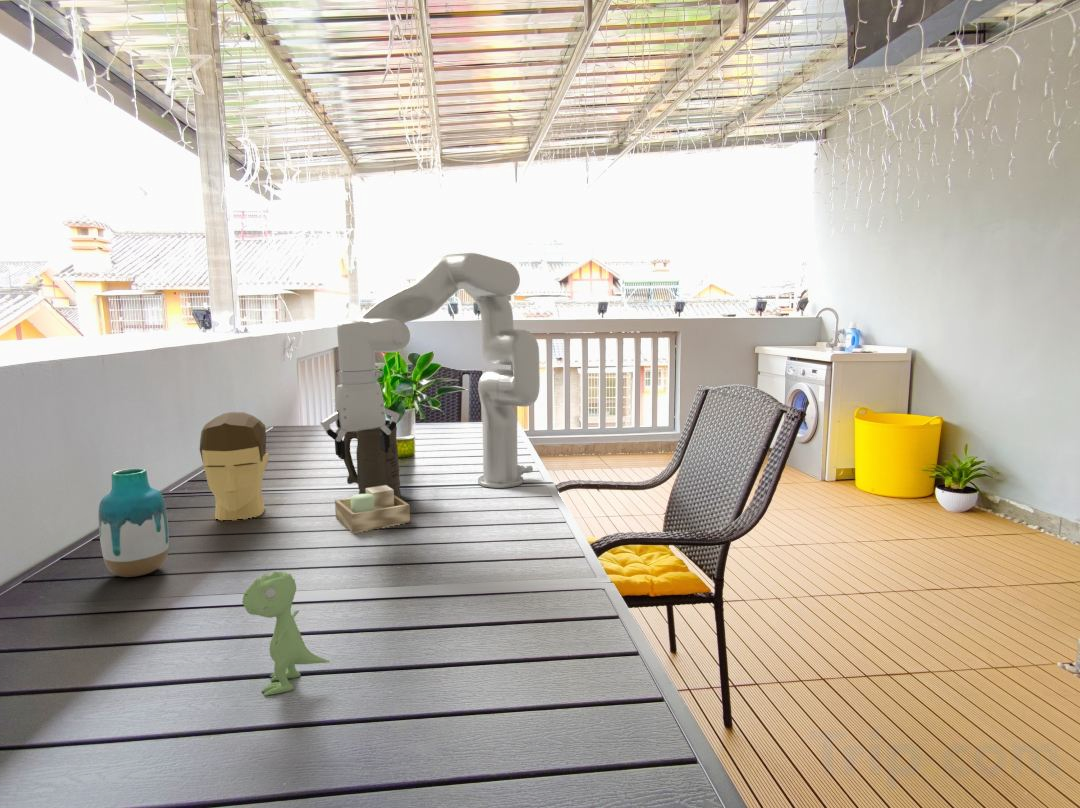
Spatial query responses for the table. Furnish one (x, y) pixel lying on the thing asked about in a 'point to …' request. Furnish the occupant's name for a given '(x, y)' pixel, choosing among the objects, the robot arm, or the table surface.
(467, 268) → the robot arm
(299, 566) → the table surface
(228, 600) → the table surface
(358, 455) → the beer stein
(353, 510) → the green cylinder
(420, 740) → the table surface
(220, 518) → the head
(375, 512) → the box
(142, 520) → the vase
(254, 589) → the toy
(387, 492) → the cream block
